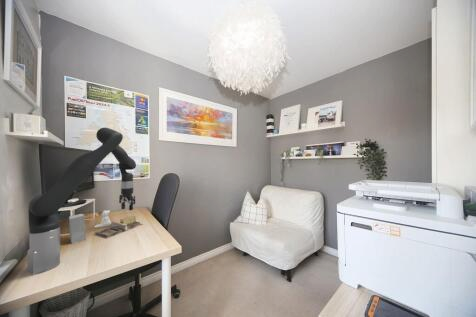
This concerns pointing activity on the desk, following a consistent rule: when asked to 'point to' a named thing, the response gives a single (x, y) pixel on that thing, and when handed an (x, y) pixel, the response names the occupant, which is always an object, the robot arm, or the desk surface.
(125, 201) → the robot arm
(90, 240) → the desk surface
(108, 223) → the white creature statuette
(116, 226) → the lock board
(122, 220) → the stop bar
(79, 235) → the skincare box
